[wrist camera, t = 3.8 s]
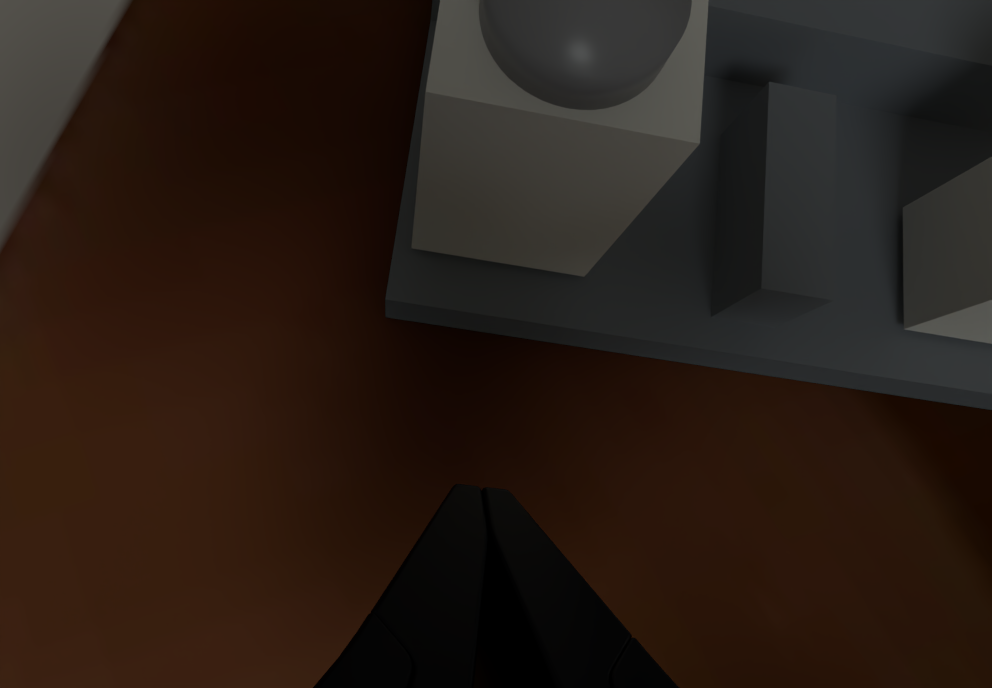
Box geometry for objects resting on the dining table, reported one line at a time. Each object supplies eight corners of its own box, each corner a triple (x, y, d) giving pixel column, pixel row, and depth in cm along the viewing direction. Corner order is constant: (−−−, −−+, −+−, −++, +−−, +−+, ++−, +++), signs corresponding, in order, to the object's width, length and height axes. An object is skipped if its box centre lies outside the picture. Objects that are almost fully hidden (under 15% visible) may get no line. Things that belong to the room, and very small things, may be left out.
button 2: (584, 276, 21) (724, 115, 12) (411, 248, 20) (428, 57, 12) (596, 150, 22) (735, -84, 13) (431, 120, 21) (461, -146, 13)
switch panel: (1006, 412, 25) (1170, 388, 19) (385, 317, 22) (384, 261, 17) (993, 96, 27) (1134, 2, 22) (439, -18, 25) (453, -153, 20)
